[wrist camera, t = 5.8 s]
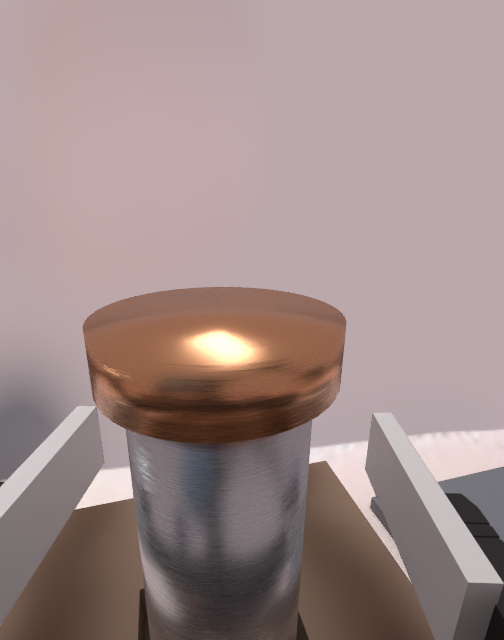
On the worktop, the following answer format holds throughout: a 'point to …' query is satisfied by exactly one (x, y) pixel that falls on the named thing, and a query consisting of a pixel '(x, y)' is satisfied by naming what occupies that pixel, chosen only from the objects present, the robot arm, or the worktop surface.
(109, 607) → the bore block
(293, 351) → the steel plug
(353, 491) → the worktop surface
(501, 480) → the rubber pad
